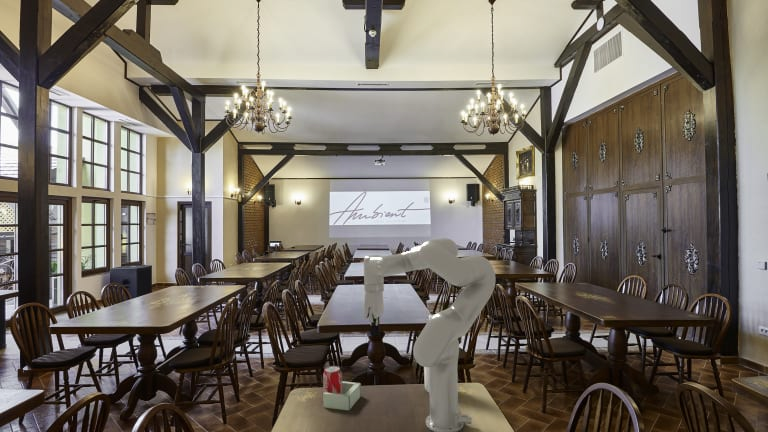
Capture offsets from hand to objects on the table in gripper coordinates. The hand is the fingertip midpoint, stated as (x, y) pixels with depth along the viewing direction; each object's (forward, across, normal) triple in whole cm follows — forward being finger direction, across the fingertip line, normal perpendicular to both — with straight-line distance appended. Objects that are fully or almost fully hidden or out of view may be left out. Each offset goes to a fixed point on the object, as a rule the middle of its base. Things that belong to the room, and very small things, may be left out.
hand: (375, 334), depth 158 cm
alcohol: (+25, -14, +20) cm, 35 cm away
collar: (+24, +8, -11) cm, 27 cm away
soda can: (+24, +8, -15) cm, 29 cm away
